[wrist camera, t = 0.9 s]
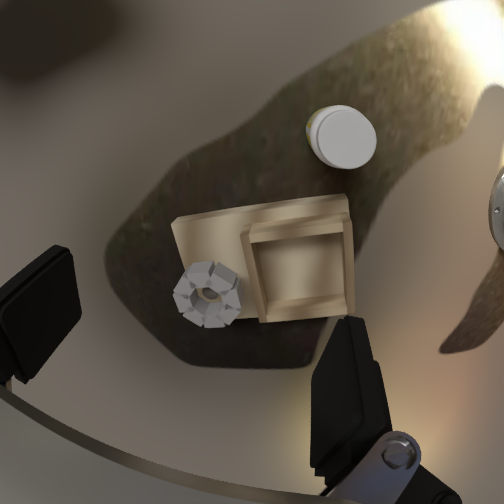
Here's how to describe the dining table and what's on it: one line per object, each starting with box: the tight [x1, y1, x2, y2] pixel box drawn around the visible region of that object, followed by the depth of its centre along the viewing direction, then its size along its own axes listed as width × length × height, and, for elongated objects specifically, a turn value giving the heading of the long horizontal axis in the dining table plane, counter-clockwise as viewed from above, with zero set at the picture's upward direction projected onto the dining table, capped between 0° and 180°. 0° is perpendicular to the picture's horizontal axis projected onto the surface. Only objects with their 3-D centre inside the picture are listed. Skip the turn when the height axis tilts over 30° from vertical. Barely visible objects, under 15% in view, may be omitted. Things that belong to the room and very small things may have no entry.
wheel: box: [173, 261, 245, 328], centre depth 28 cm, size 6×6×2 cm
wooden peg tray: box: [171, 193, 355, 323], centre depth 30 cm, size 17×12×6 cm
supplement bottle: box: [306, 105, 376, 169], centre depth 22 cm, size 5×5×8 cm
